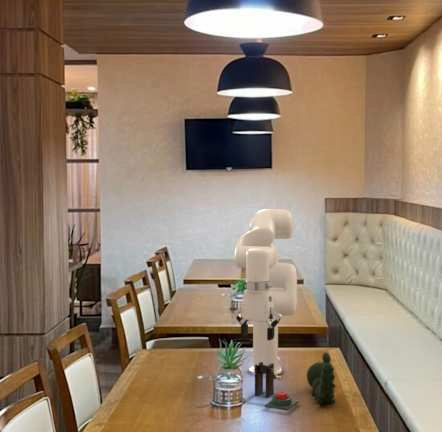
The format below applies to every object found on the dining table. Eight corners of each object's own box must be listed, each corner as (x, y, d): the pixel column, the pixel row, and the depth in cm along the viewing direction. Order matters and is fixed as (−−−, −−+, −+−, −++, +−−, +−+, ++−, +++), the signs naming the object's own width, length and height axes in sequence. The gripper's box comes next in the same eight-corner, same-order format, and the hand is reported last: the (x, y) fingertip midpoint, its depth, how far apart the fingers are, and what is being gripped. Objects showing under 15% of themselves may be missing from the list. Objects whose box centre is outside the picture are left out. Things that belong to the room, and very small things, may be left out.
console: (276, 402, 220) (276, 391, 220) (298, 405, 217) (298, 395, 216) (264, 410, 212) (264, 399, 212) (287, 414, 208) (287, 403, 208)
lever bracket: (259, 392, 231) (259, 358, 230) (283, 395, 227) (283, 361, 226) (244, 402, 220) (244, 367, 219) (269, 406, 216) (269, 370, 216)
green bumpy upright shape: (342, 415, 212) (330, 385, 237) (343, 359, 210) (331, 334, 234) (312, 416, 212) (304, 385, 237) (313, 359, 209) (304, 334, 234)
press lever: (268, 380, 232) (269, 373, 233) (281, 382, 230) (282, 375, 231) (255, 371, 223) (256, 364, 223) (268, 372, 220) (270, 365, 221)
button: (279, 396, 216) (279, 391, 216) (288, 397, 215) (288, 392, 215) (275, 399, 213) (275, 394, 213) (284, 400, 212) (284, 395, 212)
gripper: (286, 286, 217) (286, 338, 217) (240, 283, 226) (240, 333, 226) (275, 289, 211) (275, 343, 211) (229, 285, 219) (229, 337, 219)
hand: (257, 338), depth 218 cm, fingers open, 9 cm apart
